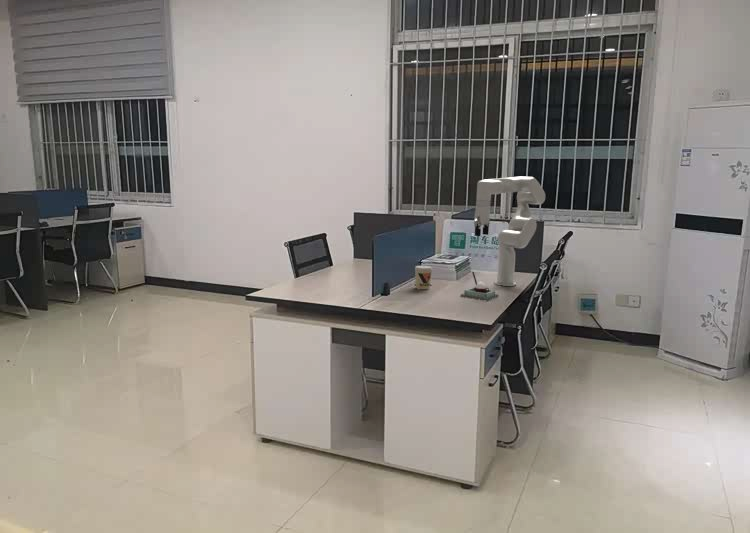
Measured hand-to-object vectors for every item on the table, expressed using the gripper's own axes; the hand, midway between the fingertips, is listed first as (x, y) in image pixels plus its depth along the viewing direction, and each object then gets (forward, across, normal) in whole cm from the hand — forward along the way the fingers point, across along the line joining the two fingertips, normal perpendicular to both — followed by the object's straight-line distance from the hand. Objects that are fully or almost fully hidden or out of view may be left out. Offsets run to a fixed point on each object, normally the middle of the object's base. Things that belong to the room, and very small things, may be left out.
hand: (481, 235), depth 315 cm
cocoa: (+29, +15, +8) cm, 34 cm away
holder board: (+30, +15, +8) cm, 35 cm away
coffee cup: (+31, +18, -25) cm, 43 cm away
